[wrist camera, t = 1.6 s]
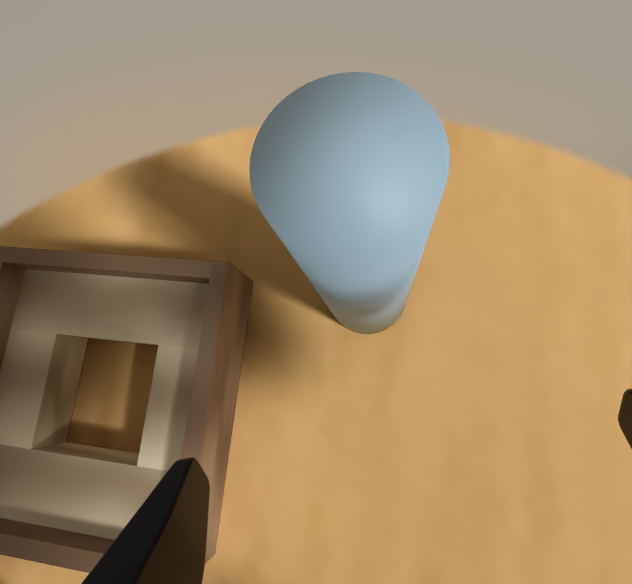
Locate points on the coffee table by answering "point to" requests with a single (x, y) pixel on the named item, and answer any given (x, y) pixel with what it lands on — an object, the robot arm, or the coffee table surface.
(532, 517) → the coffee table surface
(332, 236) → the peg
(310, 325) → the coffee table surface
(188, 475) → the robot arm
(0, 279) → the bore box
